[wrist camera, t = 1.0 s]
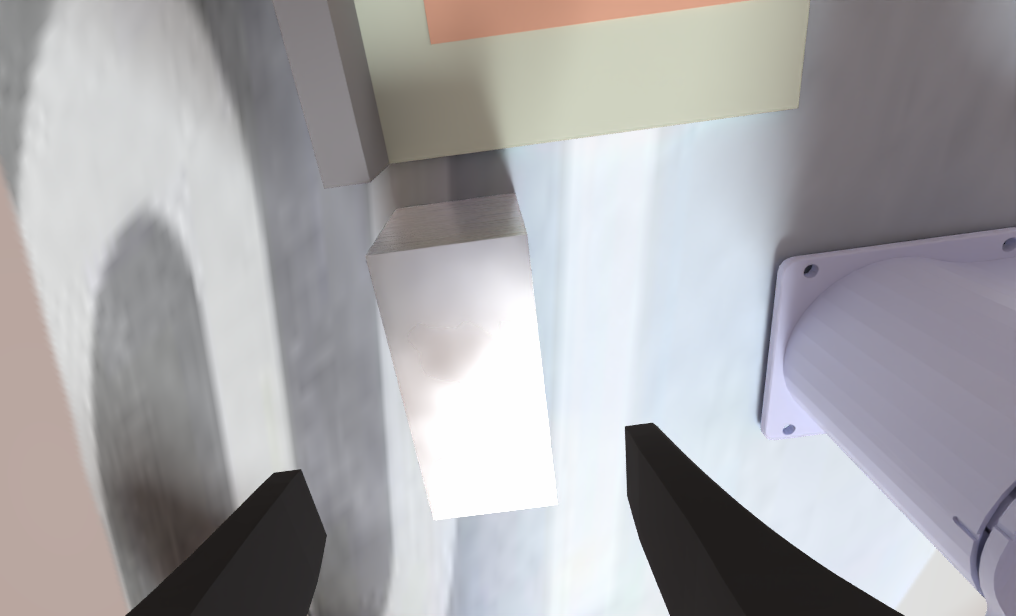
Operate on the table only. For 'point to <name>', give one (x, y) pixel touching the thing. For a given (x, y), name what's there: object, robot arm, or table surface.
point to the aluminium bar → (467, 352)
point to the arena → (527, 71)
